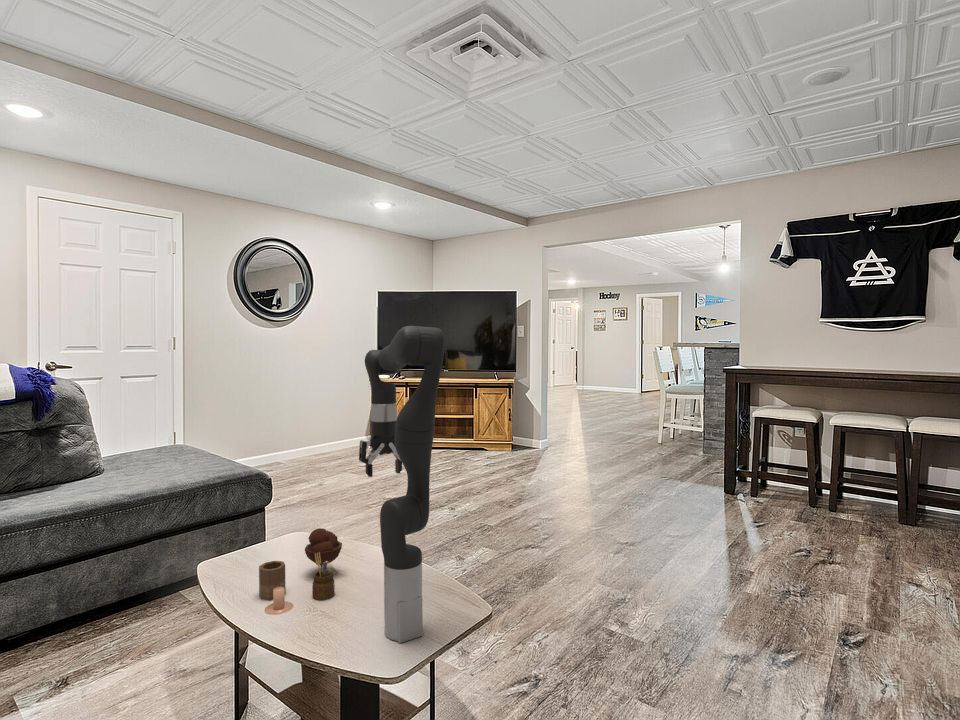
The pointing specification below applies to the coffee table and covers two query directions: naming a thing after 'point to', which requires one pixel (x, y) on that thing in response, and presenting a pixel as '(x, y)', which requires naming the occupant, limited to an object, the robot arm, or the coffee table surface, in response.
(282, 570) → the canister
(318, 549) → the ice cream bowl
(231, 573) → the coffee table surface
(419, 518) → the robot arm
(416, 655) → the coffee table surface
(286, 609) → the lid
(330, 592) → the utensil holder
